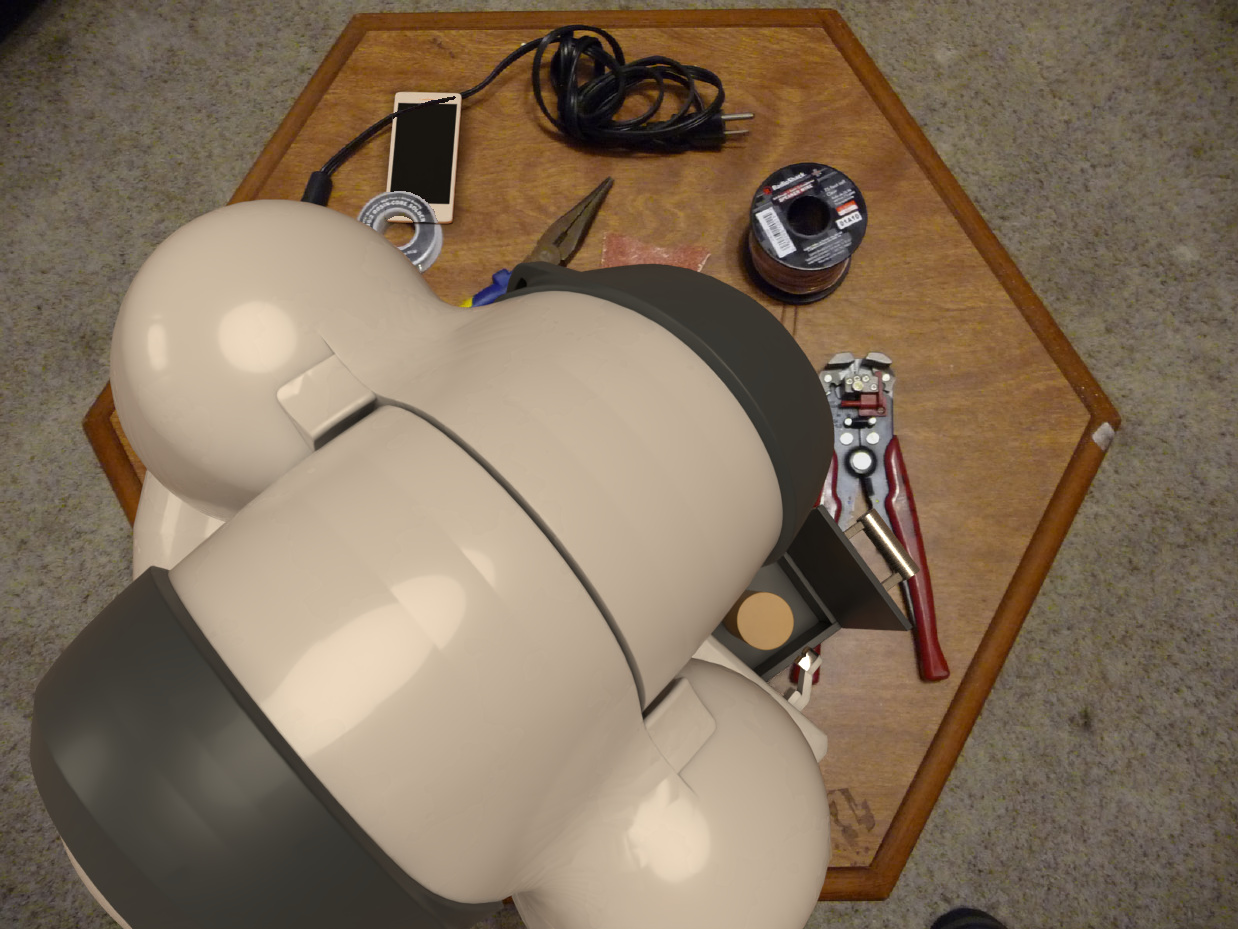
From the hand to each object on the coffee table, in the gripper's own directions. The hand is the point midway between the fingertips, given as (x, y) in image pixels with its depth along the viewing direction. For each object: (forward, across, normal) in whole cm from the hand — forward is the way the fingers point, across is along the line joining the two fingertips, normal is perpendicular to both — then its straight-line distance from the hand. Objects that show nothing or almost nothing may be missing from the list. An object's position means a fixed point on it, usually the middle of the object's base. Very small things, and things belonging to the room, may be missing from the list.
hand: (771, 614), depth 63 cm
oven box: (-1, 0, +15) cm, 15 cm away
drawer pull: (+6, -2, +1) cm, 7 cm away
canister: (-1, 0, +14) cm, 14 cm away
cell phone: (+15, +61, +15) cm, 65 cm away
